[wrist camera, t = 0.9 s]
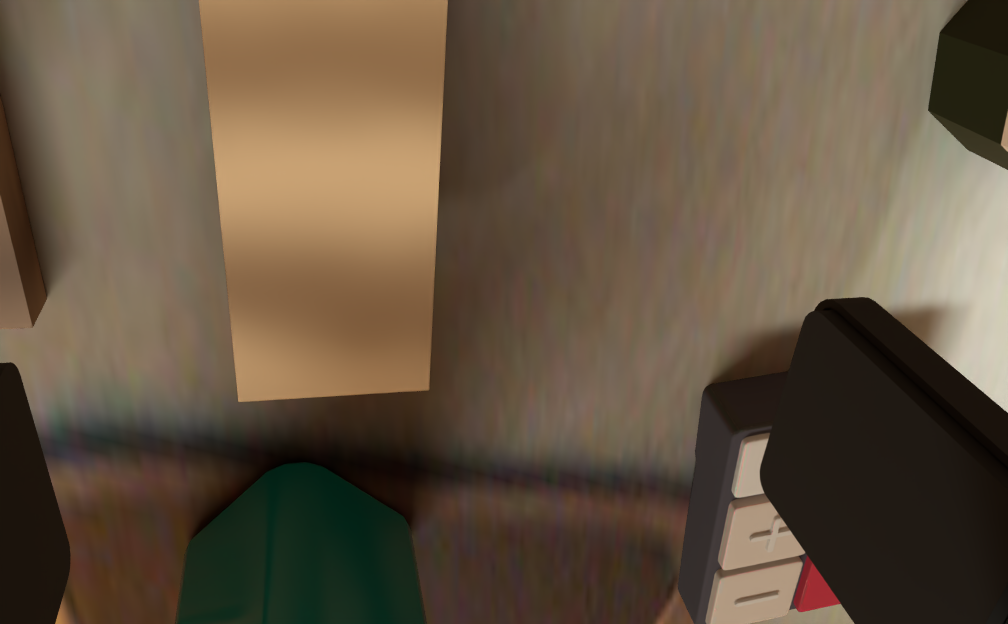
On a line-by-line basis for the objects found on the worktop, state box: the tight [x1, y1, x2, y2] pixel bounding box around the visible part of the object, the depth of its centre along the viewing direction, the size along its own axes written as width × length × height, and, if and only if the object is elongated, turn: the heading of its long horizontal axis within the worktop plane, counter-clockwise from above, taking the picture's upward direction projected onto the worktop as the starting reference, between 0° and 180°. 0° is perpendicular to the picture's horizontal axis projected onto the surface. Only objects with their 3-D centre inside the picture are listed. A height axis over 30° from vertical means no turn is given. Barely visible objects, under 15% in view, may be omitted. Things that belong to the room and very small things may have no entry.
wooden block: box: [199, 0, 448, 402], centre depth 22 cm, size 22×6×3 cm, turn 175°
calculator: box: [678, 371, 841, 624], centre depth 43 cm, size 11×4×15 cm
